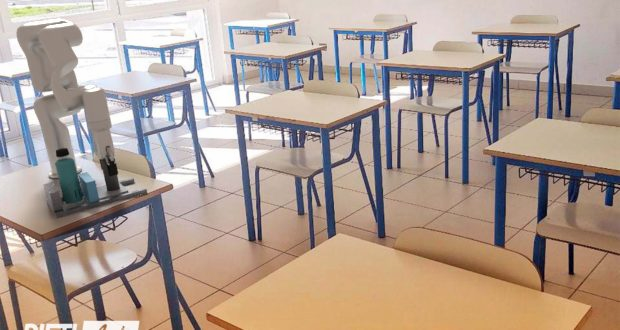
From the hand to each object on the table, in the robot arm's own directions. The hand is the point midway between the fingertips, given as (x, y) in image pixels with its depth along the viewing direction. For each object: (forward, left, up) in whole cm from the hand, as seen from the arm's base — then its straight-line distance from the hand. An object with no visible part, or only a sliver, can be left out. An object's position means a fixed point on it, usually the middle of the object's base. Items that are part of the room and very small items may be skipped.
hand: (109, 171), depth 220 cm
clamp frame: (0, -6, -8) cm, 10 cm away
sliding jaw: (0, -3, -8) cm, 8 cm away
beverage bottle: (0, -14, -8) cm, 16 cm away
